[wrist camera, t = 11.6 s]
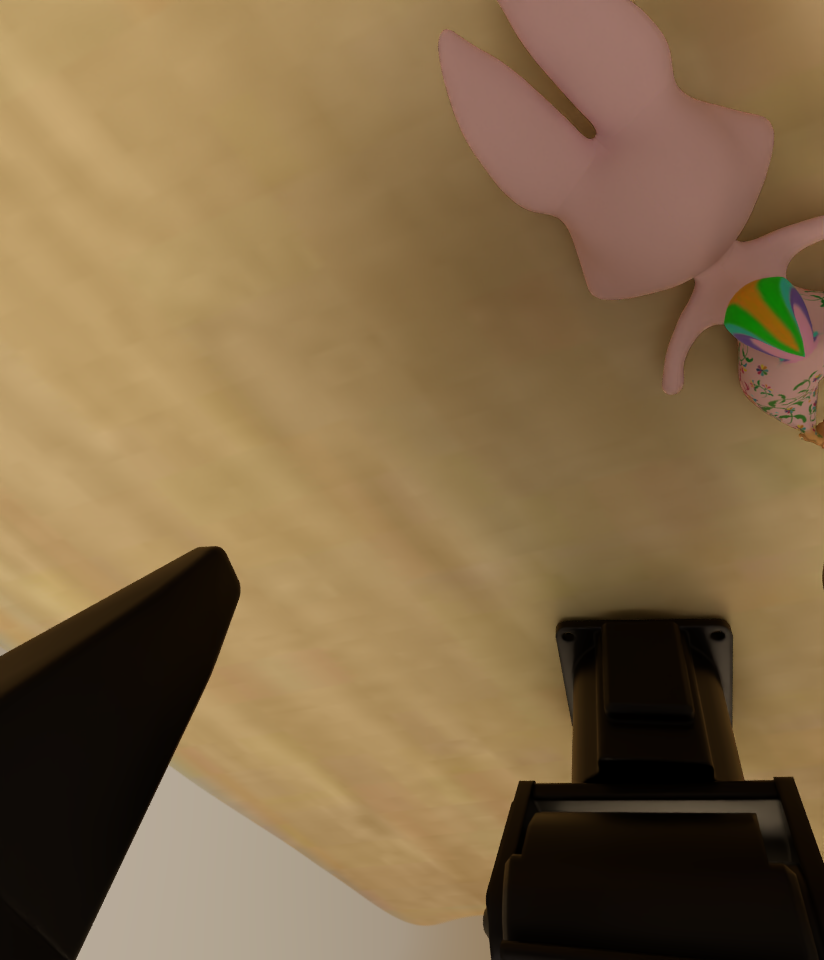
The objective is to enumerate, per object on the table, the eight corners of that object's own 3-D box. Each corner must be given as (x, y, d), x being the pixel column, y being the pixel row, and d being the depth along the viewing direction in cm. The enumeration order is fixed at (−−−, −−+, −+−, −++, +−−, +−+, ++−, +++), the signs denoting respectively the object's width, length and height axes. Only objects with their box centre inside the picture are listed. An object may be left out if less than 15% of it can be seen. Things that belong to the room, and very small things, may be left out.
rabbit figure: (938, 301, 17) (563, -153, 12) (1107, 411, 12) (606, -253, 8) (739, 438, 20) (387, 122, 16) (812, 564, 16) (342, 168, 11)
